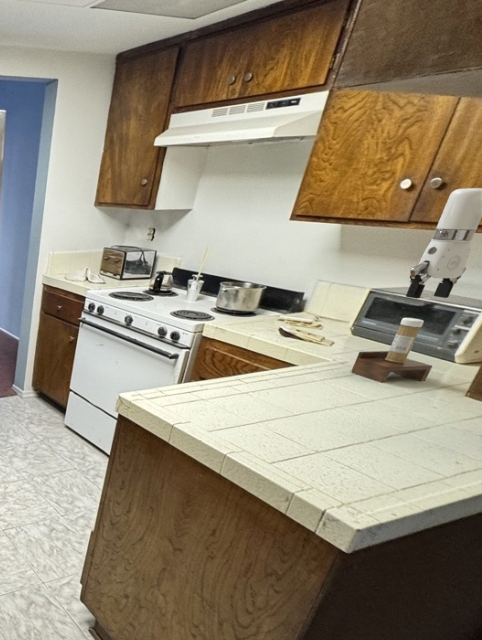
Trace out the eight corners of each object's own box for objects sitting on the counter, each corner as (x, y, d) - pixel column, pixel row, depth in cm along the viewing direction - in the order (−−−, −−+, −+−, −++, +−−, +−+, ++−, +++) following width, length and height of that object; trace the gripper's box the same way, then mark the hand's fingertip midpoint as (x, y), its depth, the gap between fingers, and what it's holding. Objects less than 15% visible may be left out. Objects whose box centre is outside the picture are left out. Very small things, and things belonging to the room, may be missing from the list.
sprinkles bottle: (407, 362, 144) (427, 320, 139) (400, 364, 142) (420, 321, 137) (388, 358, 148) (406, 316, 143) (381, 360, 146) (400, 318, 141)
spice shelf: (425, 380, 144) (435, 359, 141) (380, 382, 142) (390, 360, 139) (393, 371, 152) (402, 350, 150) (350, 372, 150) (359, 351, 147)
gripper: (442, 237, 126) (416, 300, 133) (495, 237, 128) (467, 299, 135) (411, 235, 133) (387, 295, 140) (461, 235, 135) (436, 294, 142)
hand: (426, 297), depth 137 cm, fingers open, 9 cm apart
